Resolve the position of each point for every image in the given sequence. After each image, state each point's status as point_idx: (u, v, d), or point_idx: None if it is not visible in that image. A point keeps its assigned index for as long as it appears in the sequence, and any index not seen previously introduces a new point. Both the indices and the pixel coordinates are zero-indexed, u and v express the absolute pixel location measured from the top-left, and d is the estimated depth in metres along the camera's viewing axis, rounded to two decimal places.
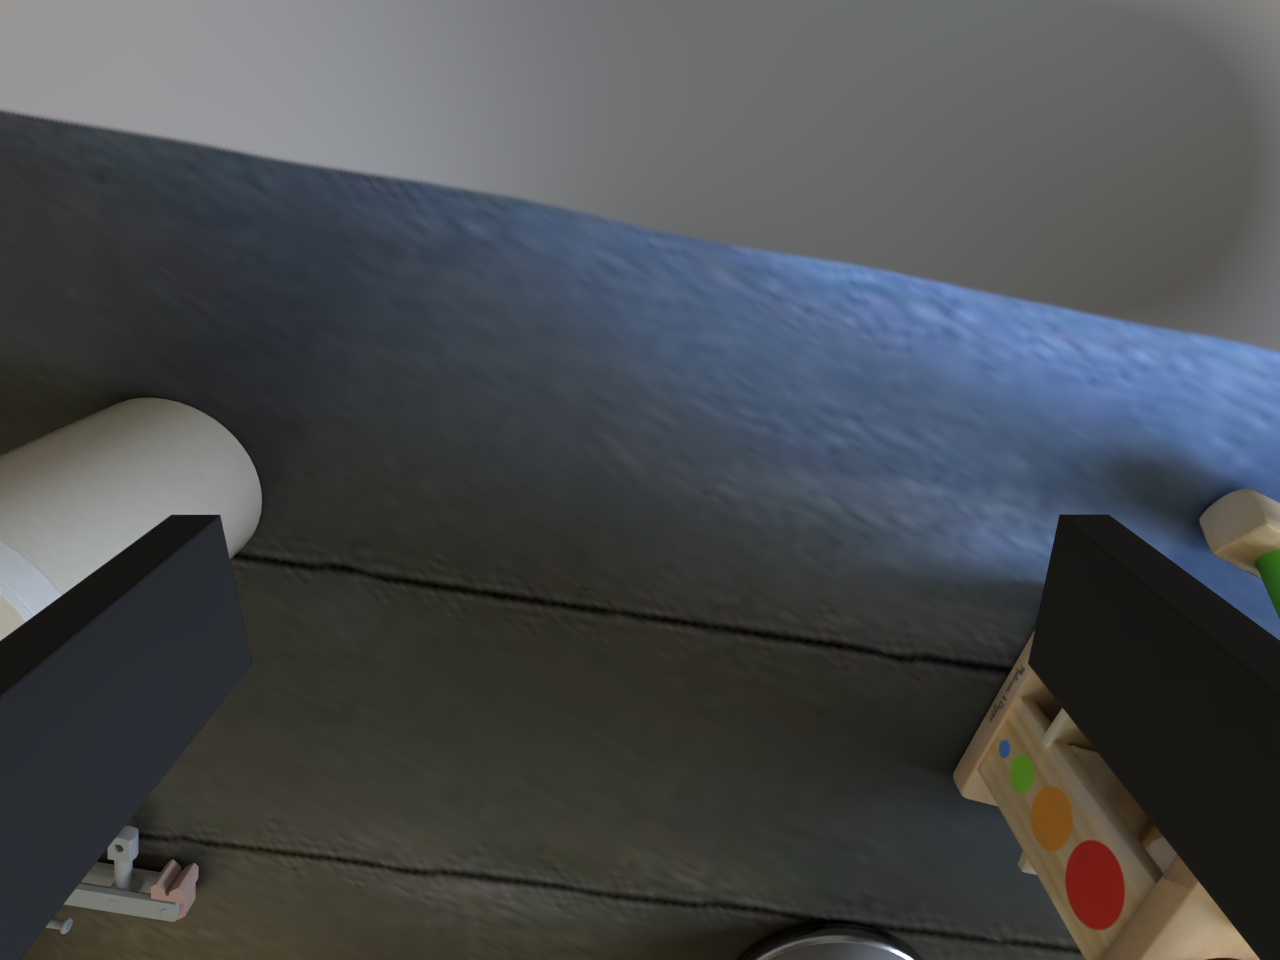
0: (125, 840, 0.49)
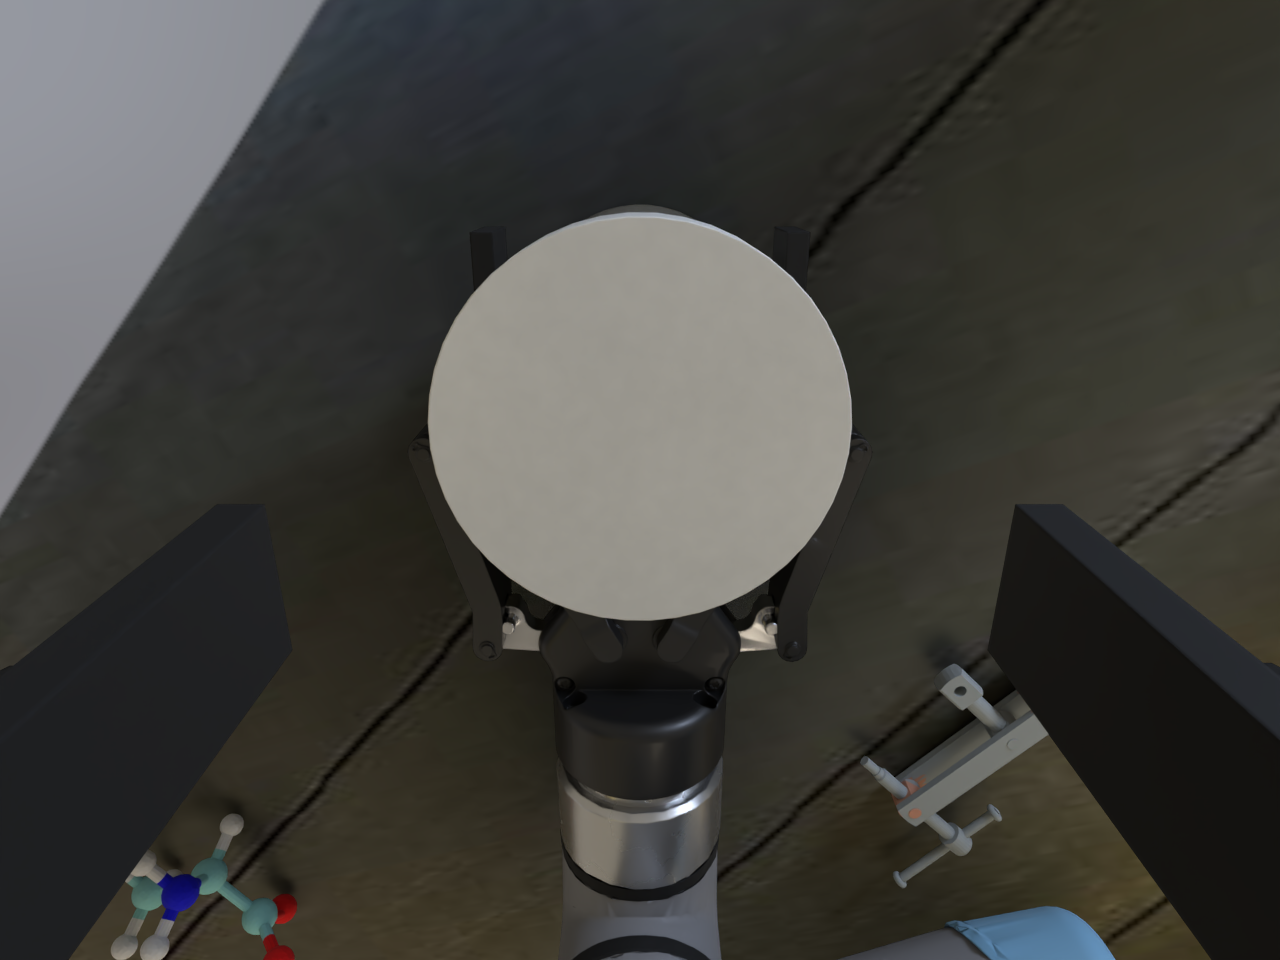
0: (957, 677, 0.40)
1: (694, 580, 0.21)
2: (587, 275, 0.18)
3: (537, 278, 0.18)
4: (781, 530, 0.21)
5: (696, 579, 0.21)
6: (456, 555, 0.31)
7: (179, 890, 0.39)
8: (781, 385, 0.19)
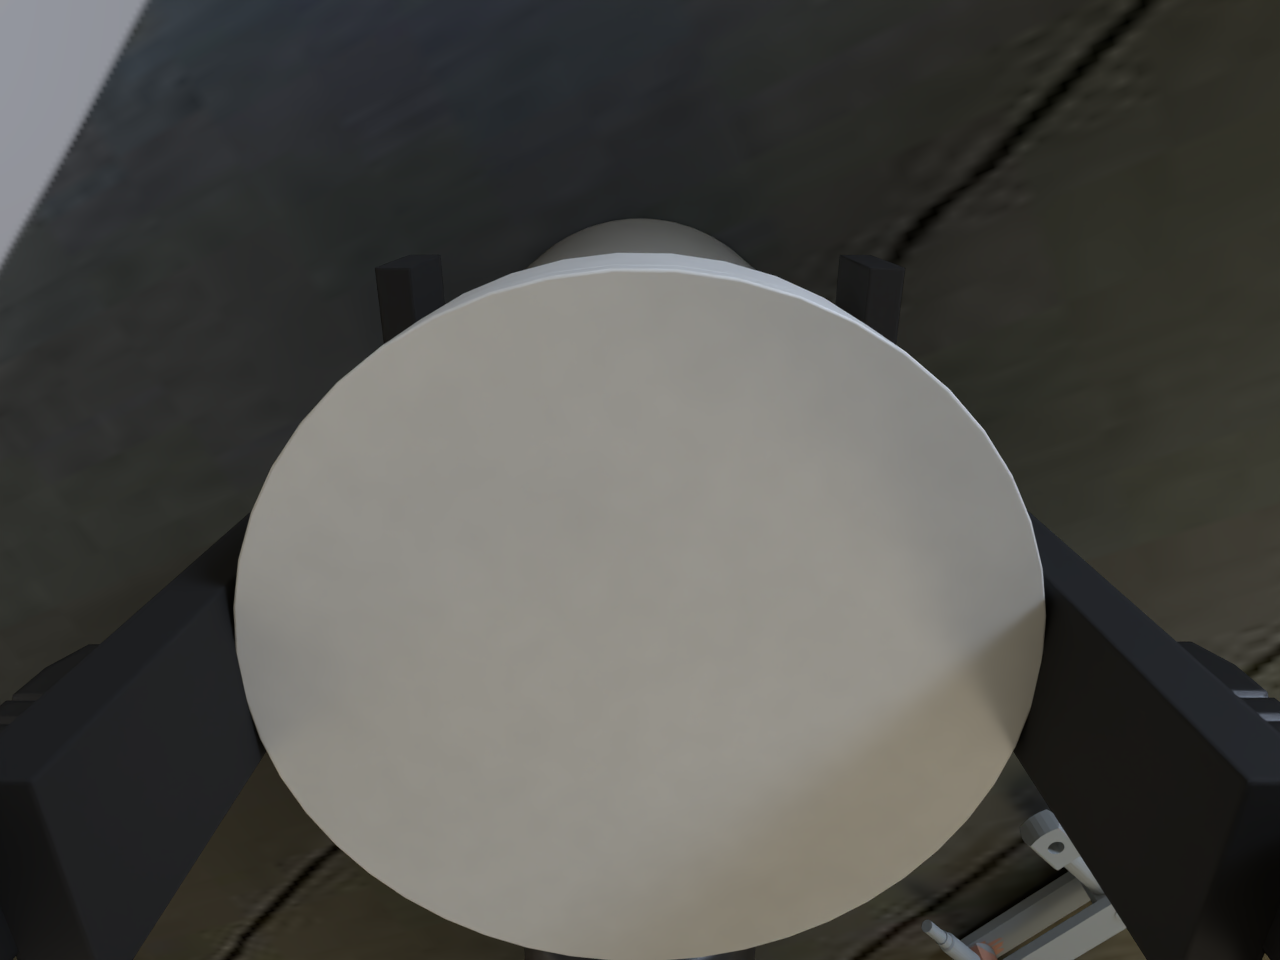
0: (1053, 831, 0.31)
1: (737, 903, 0.12)
2: (532, 386, 0.09)
3: (430, 392, 0.09)
4: (897, 827, 0.11)
5: (740, 901, 0.12)
6: None
7: None
8: (914, 589, 0.10)
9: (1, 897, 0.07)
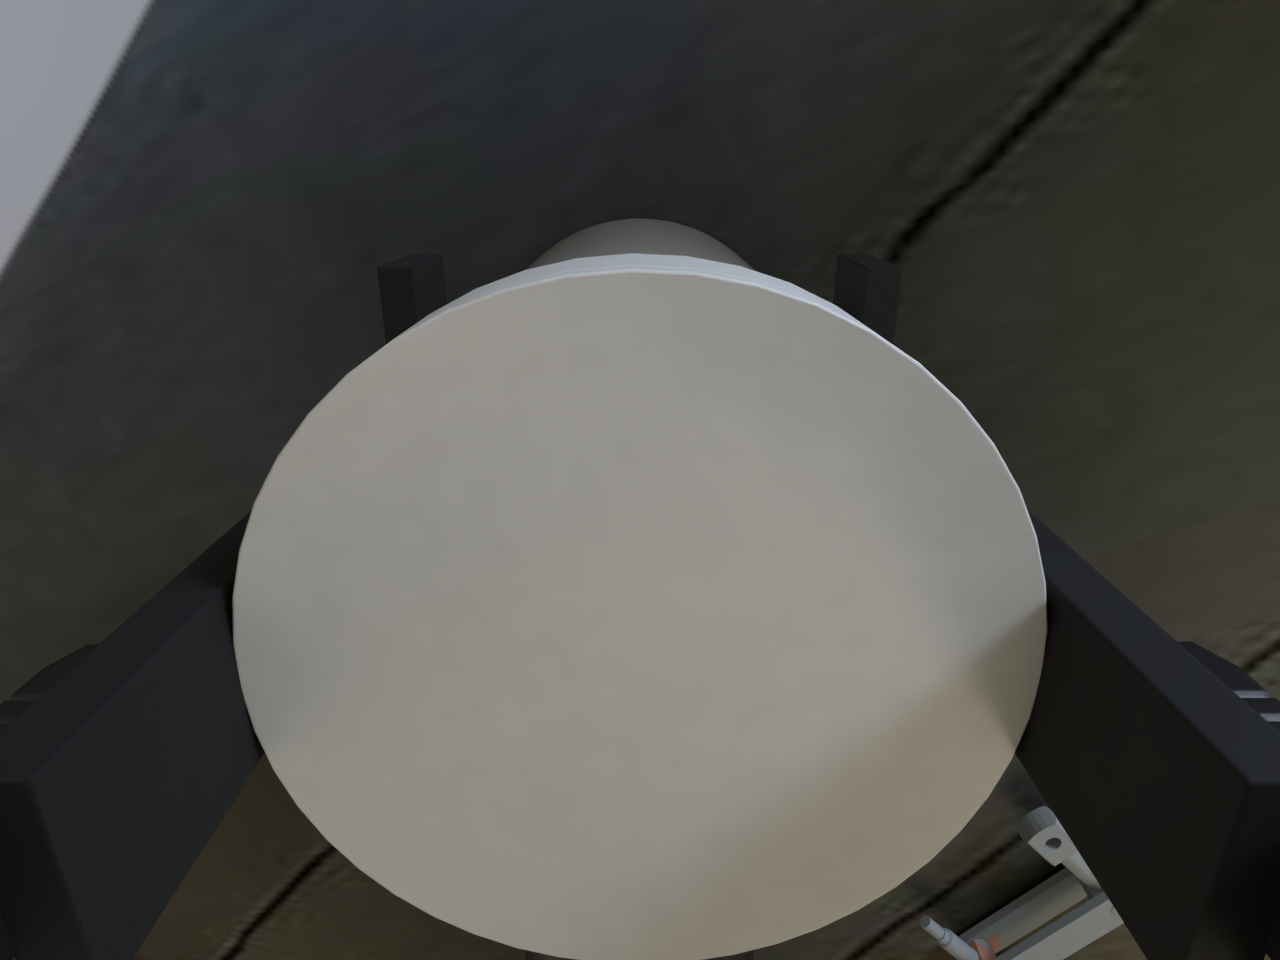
0: (1050, 827, 0.31)
1: (810, 403, 0.09)
2: (499, 885, 0.12)
3: (558, 924, 0.12)
4: (579, 347, 0.09)
5: (805, 401, 0.09)
6: None
7: None
8: (369, 575, 0.10)
9: (0, 898, 0.07)
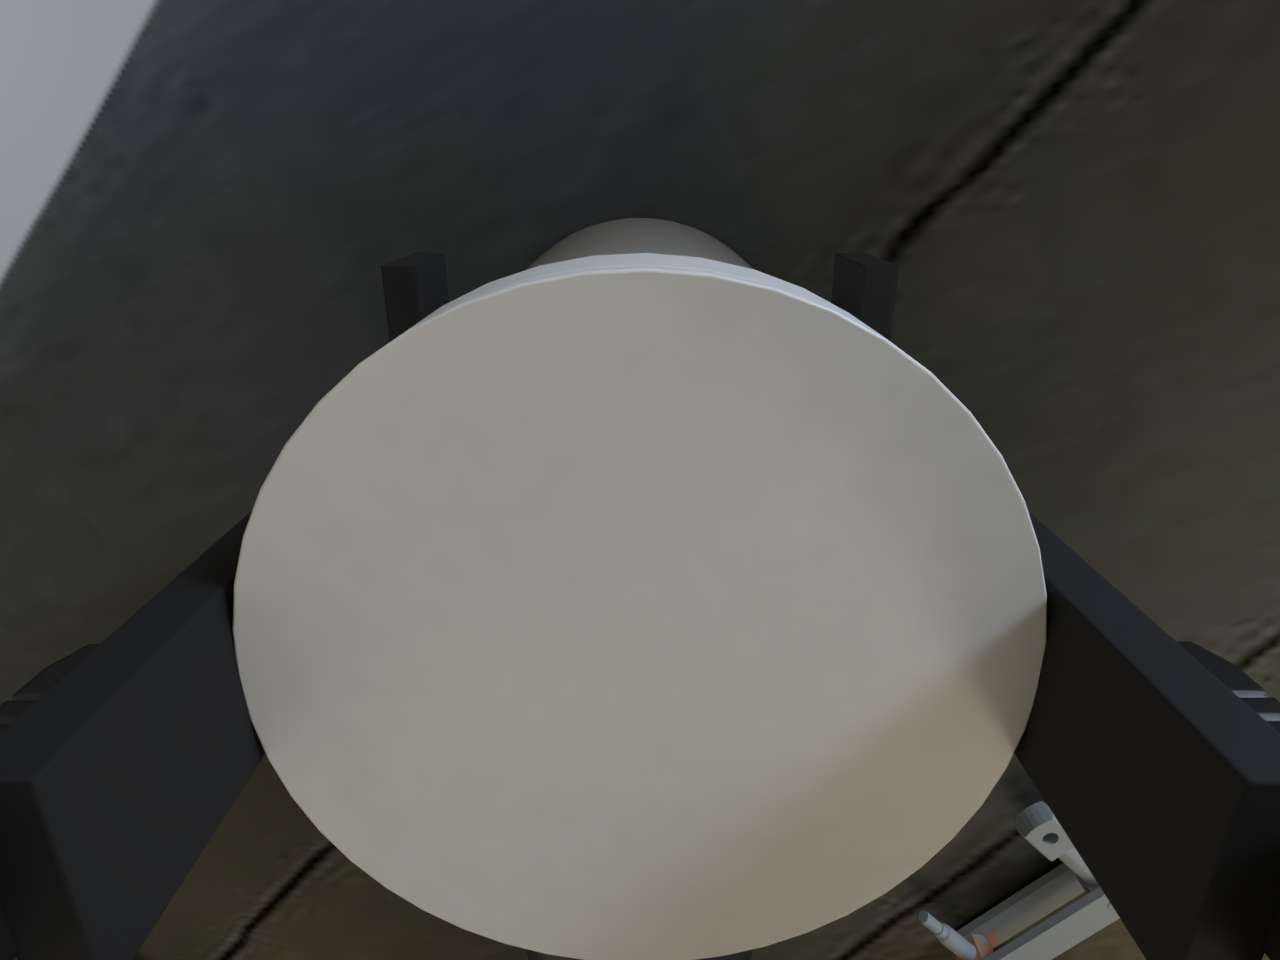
0: (1047, 822, 0.31)
1: (340, 754, 0.11)
2: (958, 620, 0.10)
3: (973, 538, 0.10)
4: (451, 880, 0.12)
5: (342, 757, 0.11)
6: None
7: None
8: (715, 881, 0.12)
9: (1, 897, 0.07)
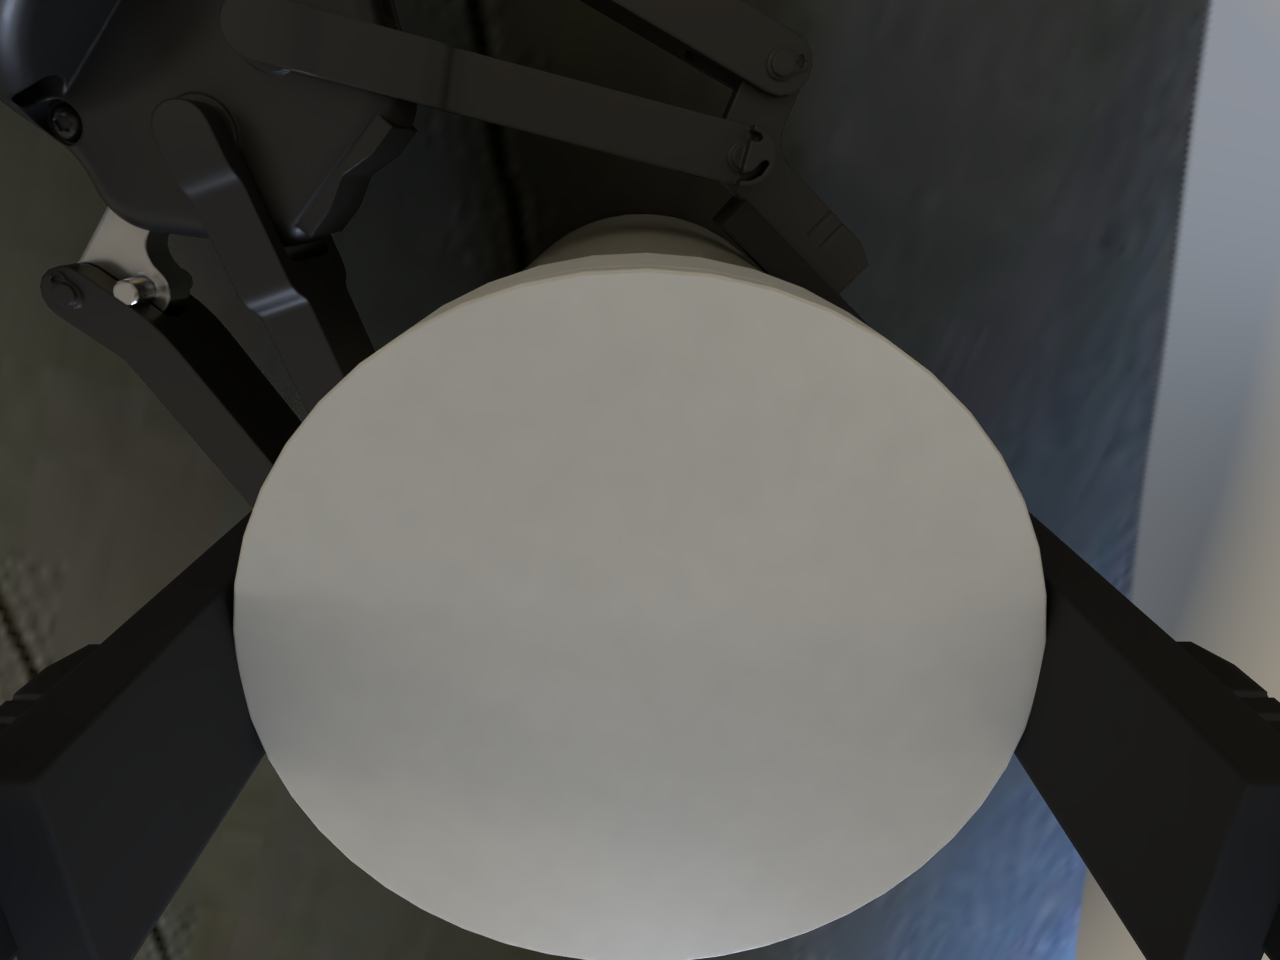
0: None
1: (340, 753, 0.11)
2: (958, 620, 0.10)
3: (973, 538, 0.10)
4: (451, 879, 0.12)
5: (343, 757, 0.11)
6: None
7: None
8: (715, 881, 0.12)
9: (2, 897, 0.07)
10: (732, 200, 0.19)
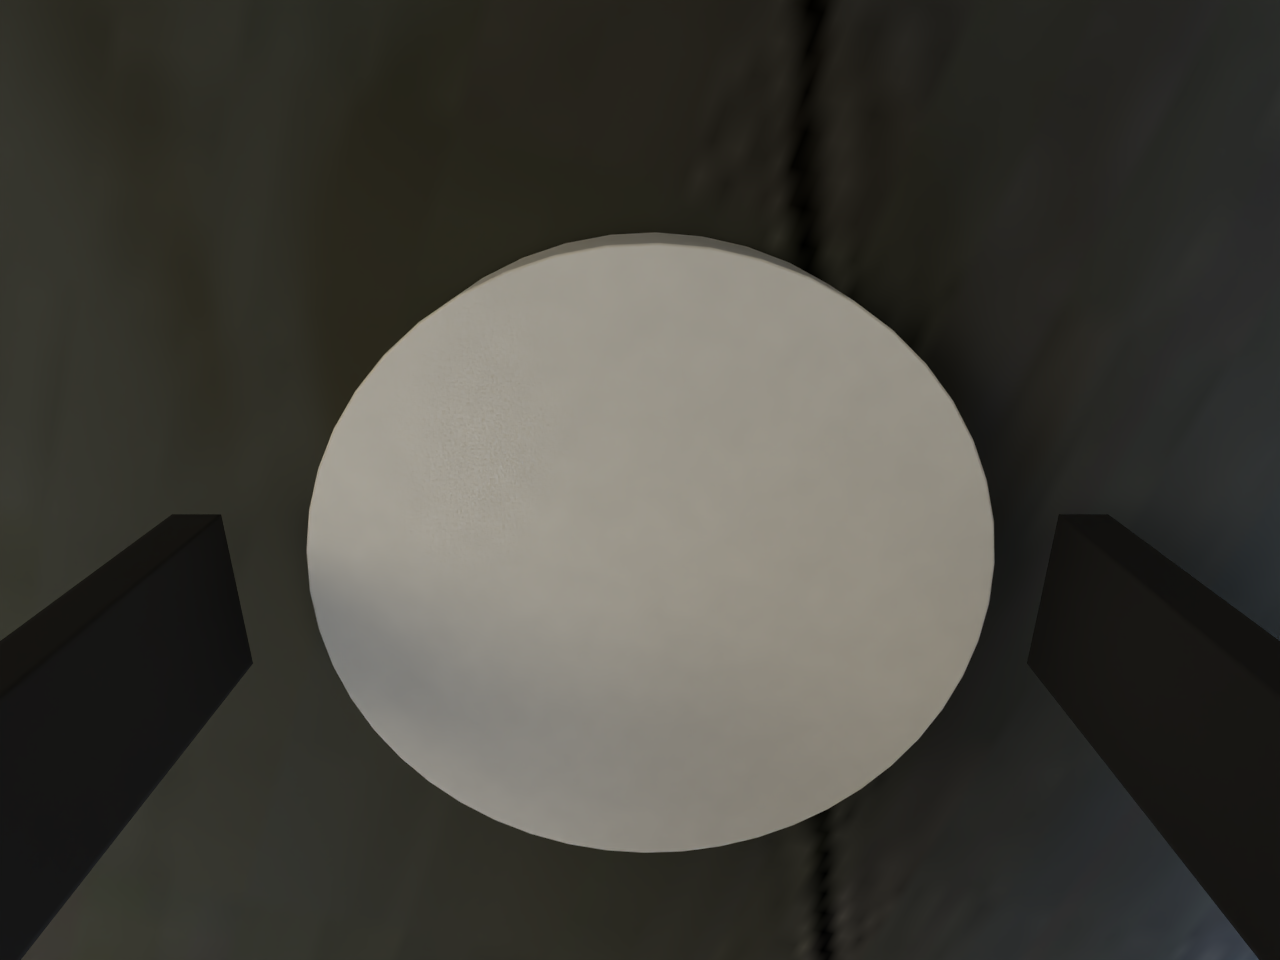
0: None
1: (394, 660, 0.13)
2: (919, 544, 0.12)
3: (931, 472, 0.11)
4: (486, 775, 0.14)
5: (396, 663, 0.13)
6: None
7: None
8: (713, 777, 0.14)
9: None
10: None
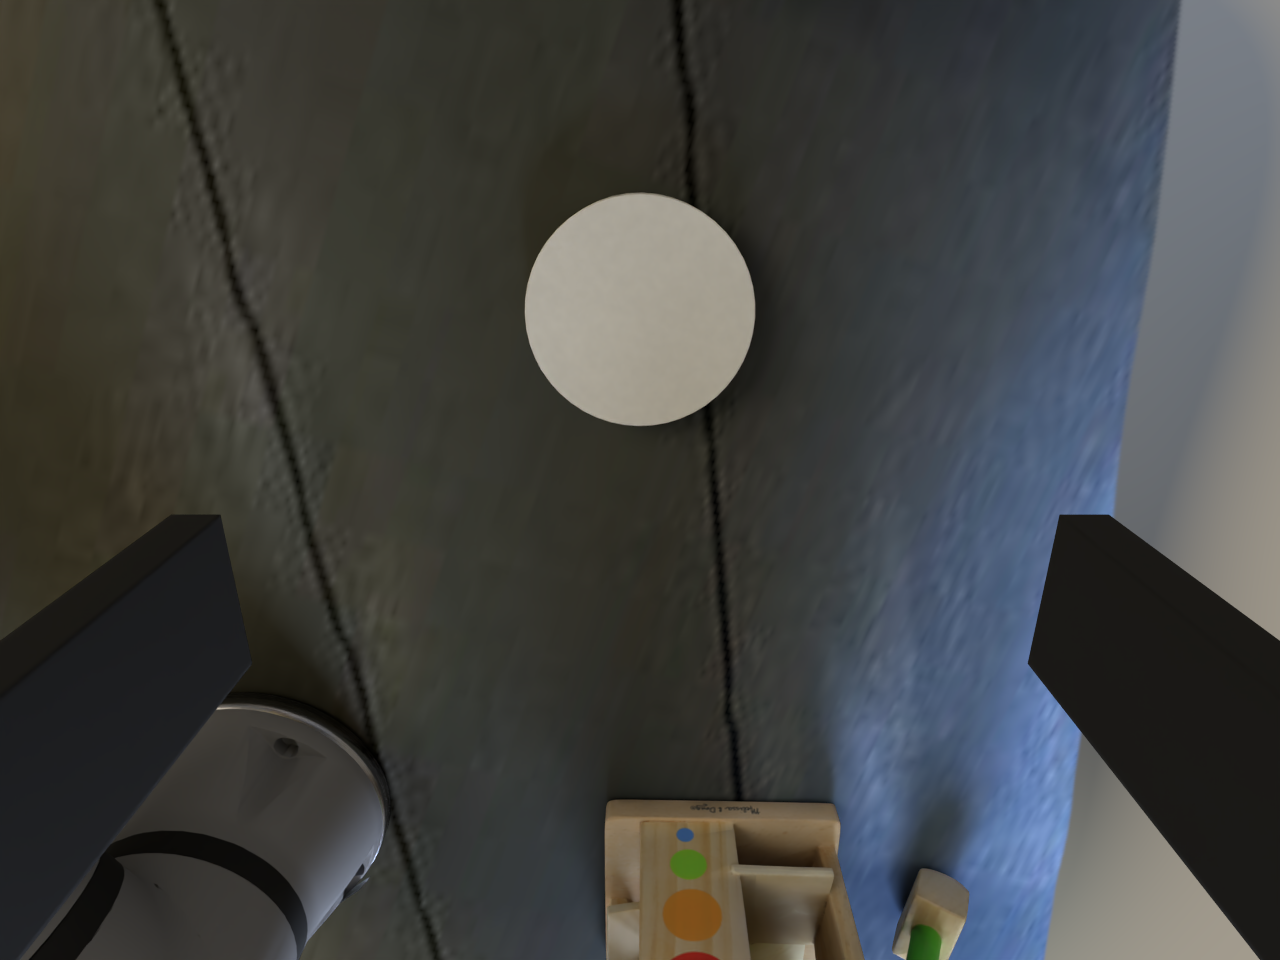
0: None
1: (551, 341, 0.37)
2: (729, 295, 0.36)
3: (730, 269, 0.35)
4: (581, 390, 0.37)
5: (552, 342, 0.37)
6: None
7: None
8: (663, 391, 0.37)
9: None
10: None
